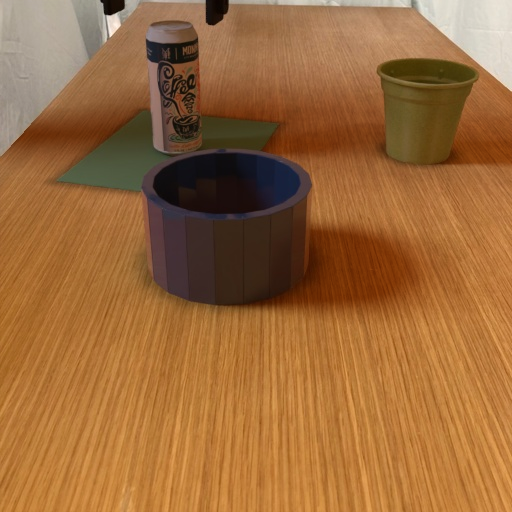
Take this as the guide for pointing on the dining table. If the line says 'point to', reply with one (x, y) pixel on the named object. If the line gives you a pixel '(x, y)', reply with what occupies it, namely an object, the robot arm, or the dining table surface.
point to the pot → (227, 225)
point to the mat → (146, 156)
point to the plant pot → (423, 106)
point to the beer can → (174, 86)
